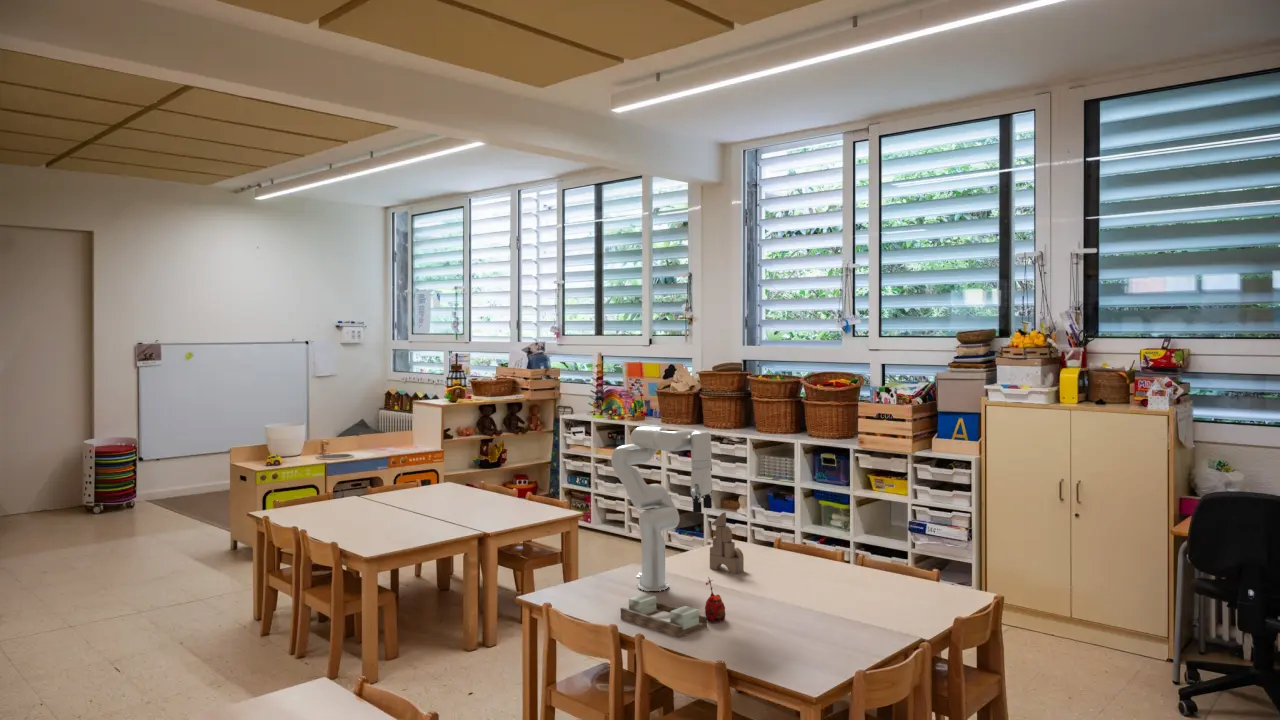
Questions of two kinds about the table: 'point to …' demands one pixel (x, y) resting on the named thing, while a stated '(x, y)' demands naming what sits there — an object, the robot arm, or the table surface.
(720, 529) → the wooden toy
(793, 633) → the table surface
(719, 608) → the red clay folk toy
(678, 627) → the display tray
